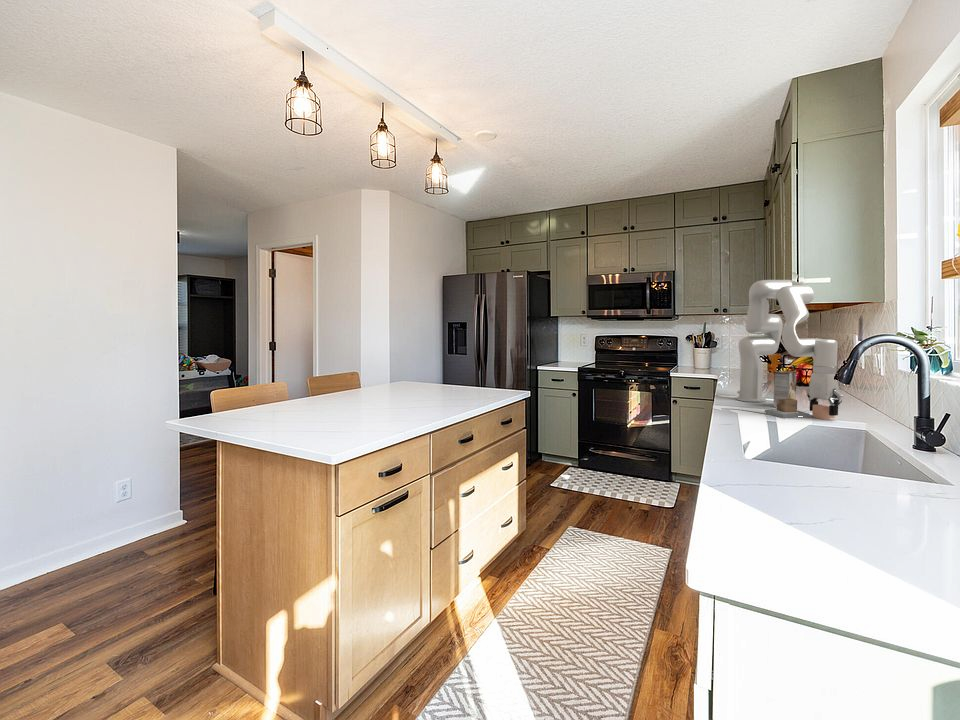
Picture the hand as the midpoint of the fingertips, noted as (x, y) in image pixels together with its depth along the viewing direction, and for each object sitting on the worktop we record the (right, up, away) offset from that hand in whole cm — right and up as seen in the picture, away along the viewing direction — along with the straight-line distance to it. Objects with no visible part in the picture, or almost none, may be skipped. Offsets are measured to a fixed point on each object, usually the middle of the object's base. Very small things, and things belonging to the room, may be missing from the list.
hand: (823, 413), depth 184 cm
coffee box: (0, 0, +24) cm, 24 cm away
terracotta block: (0, -2, 0) cm, 2 cm away
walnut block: (-10, 0, +6) cm, 12 cm away
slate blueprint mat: (-10, -2, +6) cm, 12 cm away
